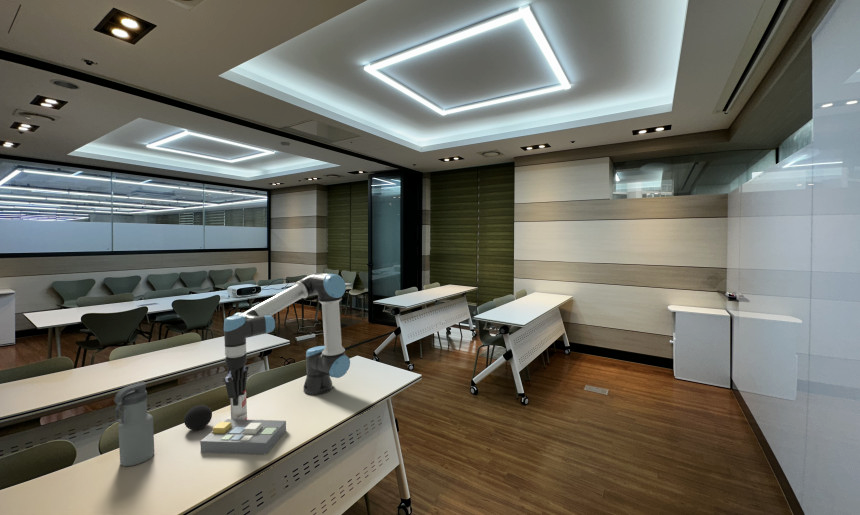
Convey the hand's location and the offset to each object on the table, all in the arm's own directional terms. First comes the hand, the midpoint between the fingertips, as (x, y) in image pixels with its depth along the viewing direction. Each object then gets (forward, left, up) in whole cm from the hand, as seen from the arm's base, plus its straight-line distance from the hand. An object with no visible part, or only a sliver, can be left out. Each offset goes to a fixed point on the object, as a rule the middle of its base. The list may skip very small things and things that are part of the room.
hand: (237, 411), depth 137 cm
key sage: (0, +13, -10) cm, 16 cm away
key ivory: (0, +6, -8) cm, 10 cm away
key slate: (0, 0, -10) cm, 10 cm away
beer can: (-13, -8, -12) cm, 20 cm away
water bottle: (+13, -31, -12) cm, 36 cm away
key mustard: (0, -7, -8) cm, 10 cm away
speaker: (-8, -23, -12) cm, 27 cm away
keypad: (0, +3, -12) cm, 12 cm away
